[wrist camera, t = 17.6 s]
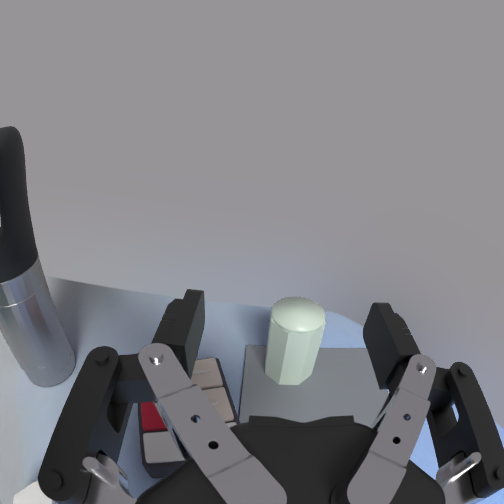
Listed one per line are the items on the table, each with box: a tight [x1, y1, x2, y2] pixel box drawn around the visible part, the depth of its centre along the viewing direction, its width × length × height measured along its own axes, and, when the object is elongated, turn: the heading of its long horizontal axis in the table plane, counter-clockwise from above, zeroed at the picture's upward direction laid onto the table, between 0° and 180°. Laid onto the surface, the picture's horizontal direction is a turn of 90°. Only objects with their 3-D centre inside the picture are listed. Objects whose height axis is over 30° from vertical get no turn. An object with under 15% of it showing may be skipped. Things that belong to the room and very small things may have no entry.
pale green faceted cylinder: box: [265, 297, 326, 385], centre depth 36 cm, size 6×6×10 cm
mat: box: [239, 345, 388, 427], centre depth 33 cm, size 20×18×1 cm
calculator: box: [138, 358, 240, 478], centre depth 29 cm, size 11×4×15 cm
